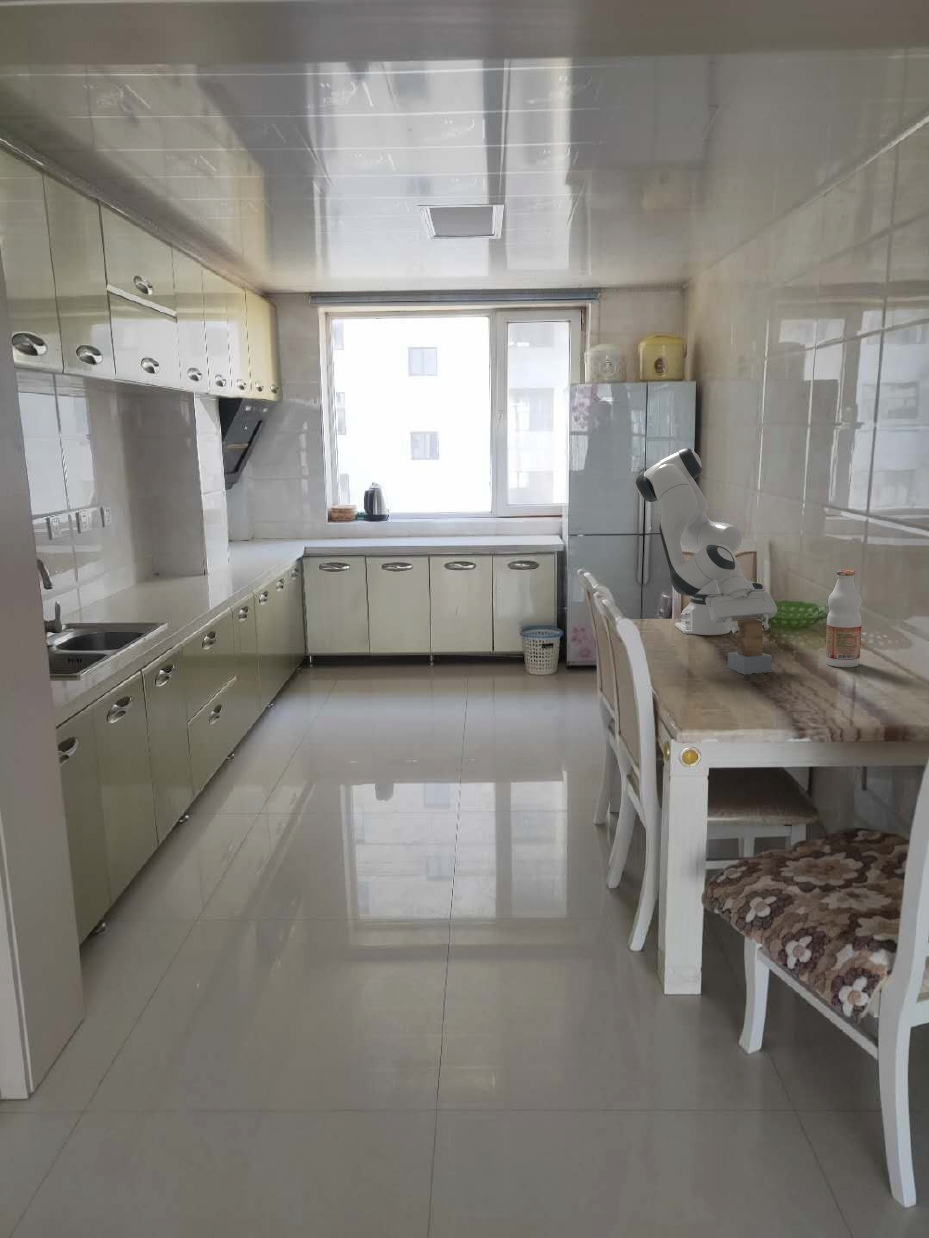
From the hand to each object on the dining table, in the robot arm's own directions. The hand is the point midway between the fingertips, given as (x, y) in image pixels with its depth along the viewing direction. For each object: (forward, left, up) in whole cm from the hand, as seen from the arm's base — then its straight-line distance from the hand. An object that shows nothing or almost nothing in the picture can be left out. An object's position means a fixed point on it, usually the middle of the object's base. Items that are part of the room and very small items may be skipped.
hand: (751, 630), depth 264 cm
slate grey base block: (-1, 0, -12) cm, 12 cm away
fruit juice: (+3, +28, -12) cm, 31 cm away
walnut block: (-1, 0, -7) cm, 7 cm away
